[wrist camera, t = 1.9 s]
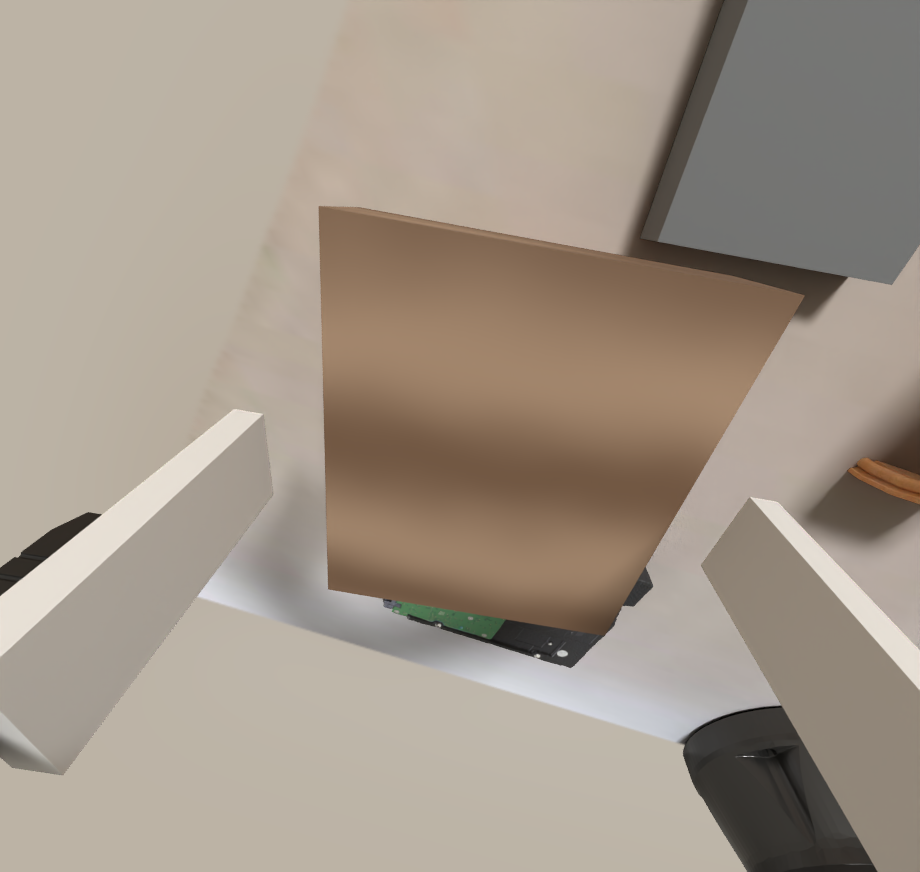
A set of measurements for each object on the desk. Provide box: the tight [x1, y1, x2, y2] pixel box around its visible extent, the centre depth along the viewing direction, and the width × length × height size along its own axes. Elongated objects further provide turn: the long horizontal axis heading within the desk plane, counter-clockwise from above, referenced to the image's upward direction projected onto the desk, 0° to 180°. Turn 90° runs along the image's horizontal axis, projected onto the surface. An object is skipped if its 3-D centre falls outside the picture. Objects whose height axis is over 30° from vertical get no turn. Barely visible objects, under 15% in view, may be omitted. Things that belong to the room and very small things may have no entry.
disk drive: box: [383, 567, 653, 668], centre depth 26 cm, size 10×3×15 cm
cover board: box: [319, 206, 805, 636], centre depth 13 cm, size 13×11×3 cm
